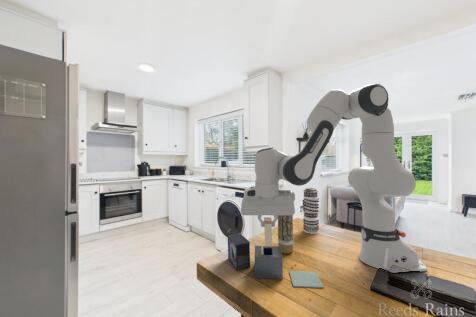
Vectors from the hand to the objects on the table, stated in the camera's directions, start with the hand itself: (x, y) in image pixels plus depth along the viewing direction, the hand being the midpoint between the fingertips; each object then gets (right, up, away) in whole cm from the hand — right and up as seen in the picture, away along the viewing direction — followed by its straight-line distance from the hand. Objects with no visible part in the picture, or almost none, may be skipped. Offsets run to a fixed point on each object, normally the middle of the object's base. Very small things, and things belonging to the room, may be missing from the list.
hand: (267, 226), depth 79 cm
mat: (+13, -17, -5) cm, 22 cm away
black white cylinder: (+31, -17, +41) cm, 55 cm away
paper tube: (+11, -17, +17) cm, 27 cm away
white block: (0, -7, 0) cm, 7 cm away
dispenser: (0, -18, 0) cm, 18 cm away
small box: (-11, -18, +7) cm, 22 cm away
